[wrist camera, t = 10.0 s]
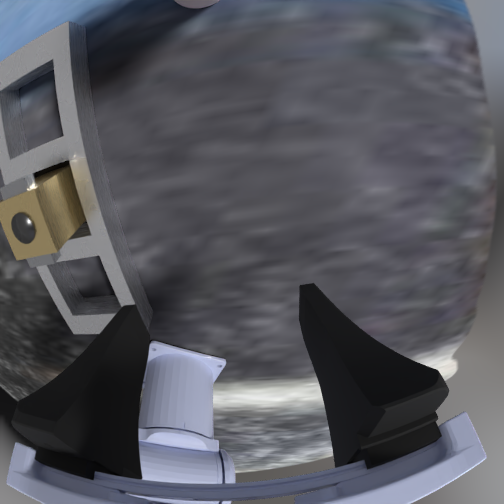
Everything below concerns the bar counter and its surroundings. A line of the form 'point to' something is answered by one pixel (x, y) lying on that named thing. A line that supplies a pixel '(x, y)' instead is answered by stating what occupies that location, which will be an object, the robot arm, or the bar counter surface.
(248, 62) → the bar counter surface
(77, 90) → the rail
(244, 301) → the bar counter surface
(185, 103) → the bar counter surface
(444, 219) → the bar counter surface
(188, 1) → the smoothie
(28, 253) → the drilled wooden block
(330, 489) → the robot arm
